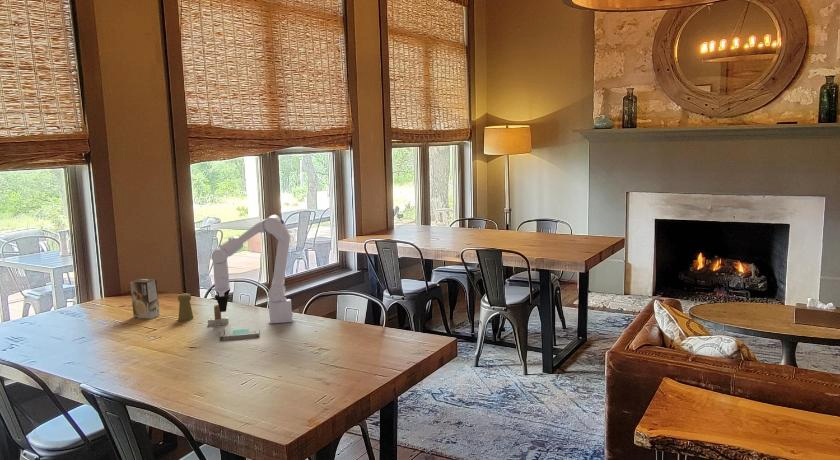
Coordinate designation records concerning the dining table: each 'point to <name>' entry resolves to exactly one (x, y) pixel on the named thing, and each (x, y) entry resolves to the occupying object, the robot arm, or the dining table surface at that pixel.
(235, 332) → the tile
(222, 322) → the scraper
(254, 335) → the frame
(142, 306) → the coffee box
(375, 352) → the dining table surface
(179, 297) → the cork
